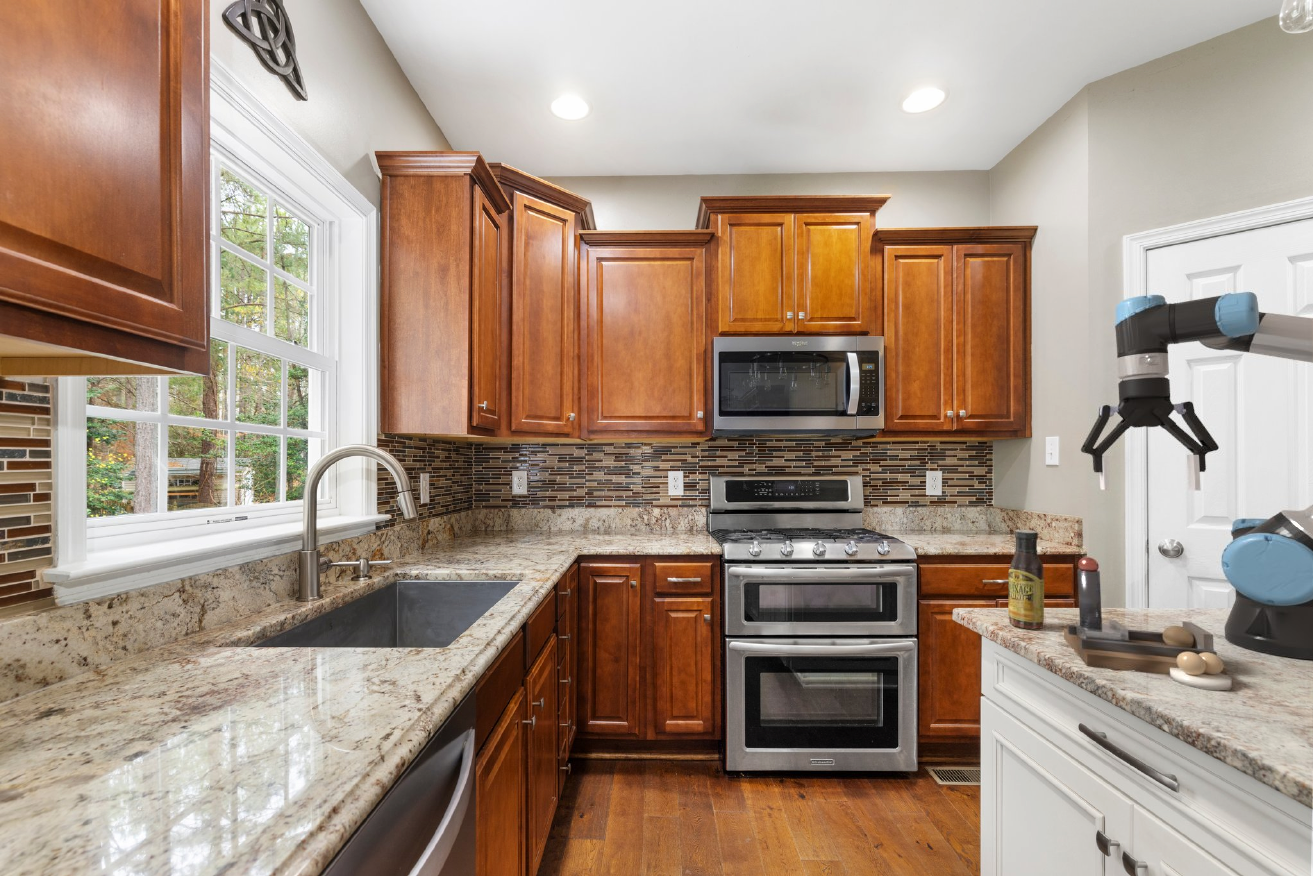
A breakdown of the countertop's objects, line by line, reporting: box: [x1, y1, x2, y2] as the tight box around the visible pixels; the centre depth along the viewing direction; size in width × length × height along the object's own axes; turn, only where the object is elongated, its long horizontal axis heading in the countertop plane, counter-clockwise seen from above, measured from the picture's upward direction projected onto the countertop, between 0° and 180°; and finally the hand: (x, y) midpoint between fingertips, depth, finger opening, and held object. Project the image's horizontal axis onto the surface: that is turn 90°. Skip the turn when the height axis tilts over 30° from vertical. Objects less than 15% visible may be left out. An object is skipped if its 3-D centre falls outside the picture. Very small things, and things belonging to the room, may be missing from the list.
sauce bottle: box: [1007, 529, 1045, 630], centre depth 121 cm, size 7×6×20 cm
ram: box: [1075, 556, 1129, 642], centre depth 104 cm, size 6×6×15 cm
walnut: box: [1162, 625, 1194, 648], centre depth 99 cm, size 4×4×4 cm
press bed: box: [1063, 620, 1228, 676], centre depth 102 cm, size 18×16×6 cm
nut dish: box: [1169, 652, 1233, 692], centre depth 90 cm, size 7×7×5 cm
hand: (1148, 490), depth 110 cm, fingers open, 13 cm apart
